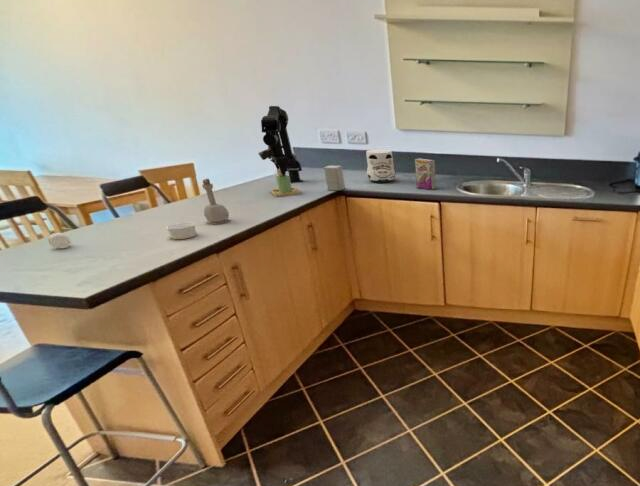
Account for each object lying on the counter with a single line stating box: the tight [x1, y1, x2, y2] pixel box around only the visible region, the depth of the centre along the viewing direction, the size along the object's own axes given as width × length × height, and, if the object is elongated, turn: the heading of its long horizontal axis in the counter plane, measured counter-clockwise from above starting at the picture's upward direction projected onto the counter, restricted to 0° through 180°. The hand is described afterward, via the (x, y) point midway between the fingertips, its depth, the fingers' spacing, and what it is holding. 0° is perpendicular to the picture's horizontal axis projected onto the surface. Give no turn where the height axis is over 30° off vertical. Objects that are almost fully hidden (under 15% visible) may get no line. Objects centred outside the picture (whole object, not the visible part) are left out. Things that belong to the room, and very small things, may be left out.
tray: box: [270, 186, 302, 198], centre depth 227 cm, size 12×12×1 cm
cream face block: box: [365, 149, 397, 183], centre depth 258 cm, size 17×17×18 cm
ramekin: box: [166, 222, 197, 240], centre depth 160 cm, size 9×9×4 cm
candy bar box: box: [414, 157, 437, 191], centre depth 244 cm, size 11×5×16 cm, turn 65°
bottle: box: [275, 174, 293, 193], centre depth 225 cm, size 6×6×12 cm
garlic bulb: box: [47, 232, 72, 249], centre depth 147 cm, size 6×6×5 cm
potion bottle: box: [201, 178, 230, 225], centre depth 175 cm, size 9×9×18 cm
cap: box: [276, 168, 287, 176], centre depth 222 cm, size 4×4×3 cm
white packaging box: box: [323, 165, 346, 191], centre depth 236 cm, size 7×7×13 cm
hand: (281, 174), depth 223 cm, fingers open, 6 cm apart
